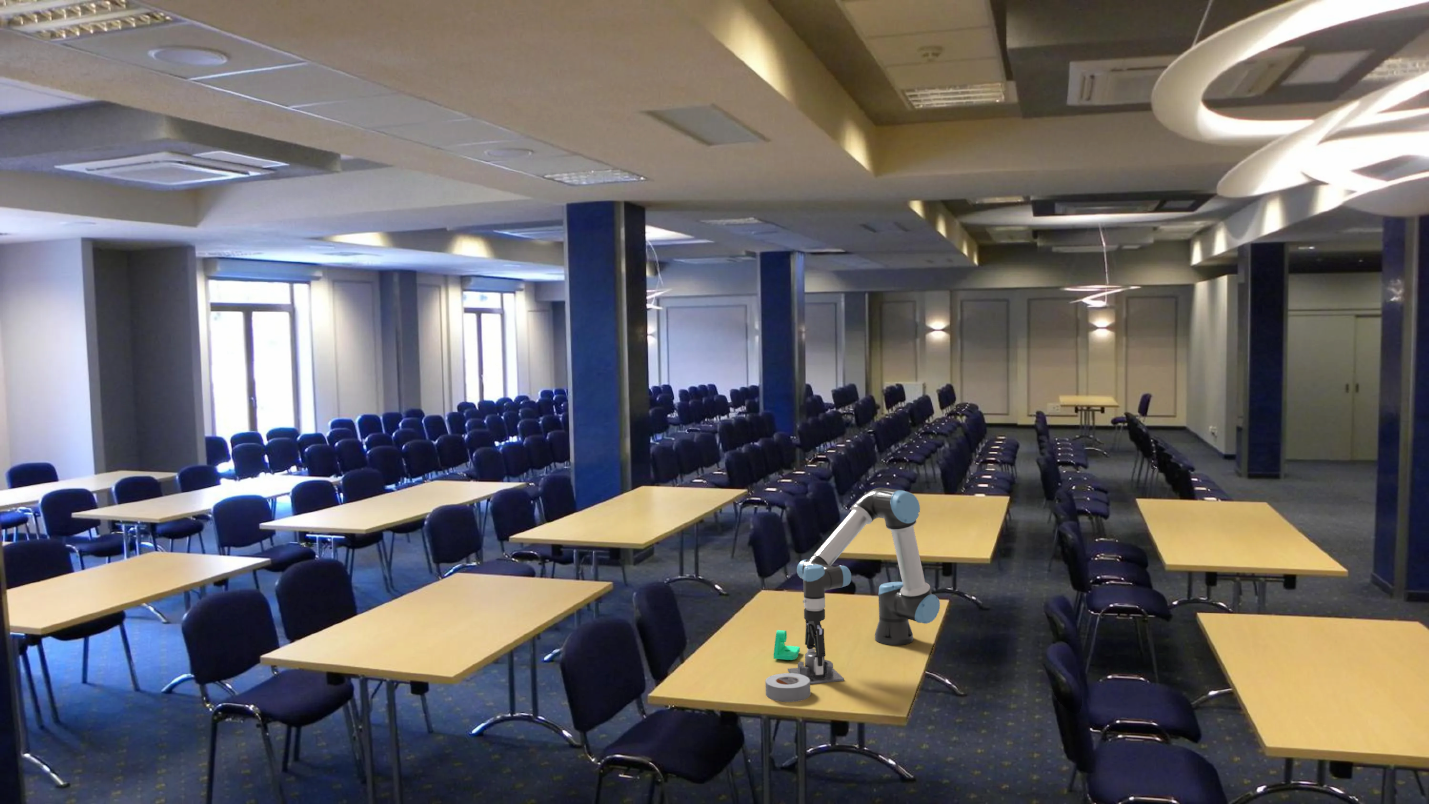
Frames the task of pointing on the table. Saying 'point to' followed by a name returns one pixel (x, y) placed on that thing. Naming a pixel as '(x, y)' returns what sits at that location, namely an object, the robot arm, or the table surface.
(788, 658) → the camera mount
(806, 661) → the cap
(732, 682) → the table surface
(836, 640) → the table surface
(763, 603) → the table surface
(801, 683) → the tape roll
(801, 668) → the ball joint plate
